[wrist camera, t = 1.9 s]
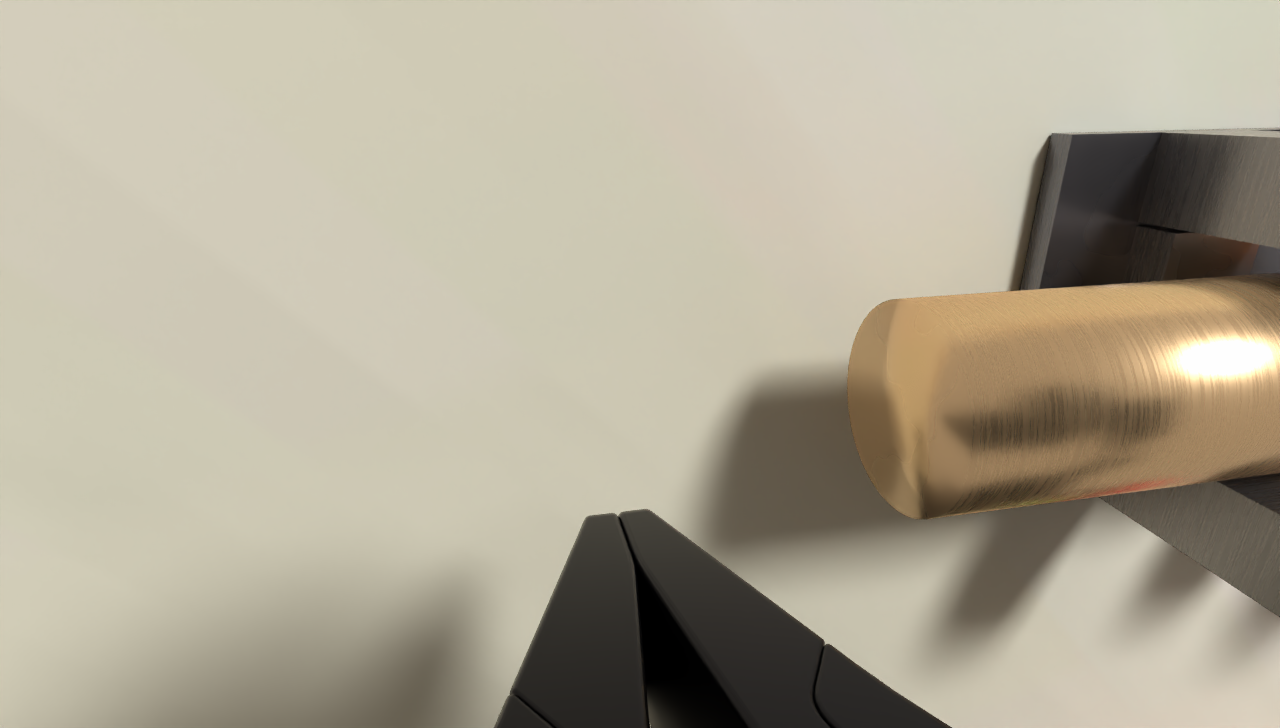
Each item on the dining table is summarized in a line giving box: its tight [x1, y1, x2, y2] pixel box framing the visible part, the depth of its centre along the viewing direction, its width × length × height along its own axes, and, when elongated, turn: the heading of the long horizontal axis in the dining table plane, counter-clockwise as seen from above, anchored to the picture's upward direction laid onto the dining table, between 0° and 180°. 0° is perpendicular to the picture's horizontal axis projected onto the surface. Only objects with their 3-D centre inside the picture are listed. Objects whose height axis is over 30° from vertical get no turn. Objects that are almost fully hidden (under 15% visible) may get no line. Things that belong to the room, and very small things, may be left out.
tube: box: [847, 273, 1280, 519], centre depth 13 cm, size 4×14×4 cm, turn 91°
